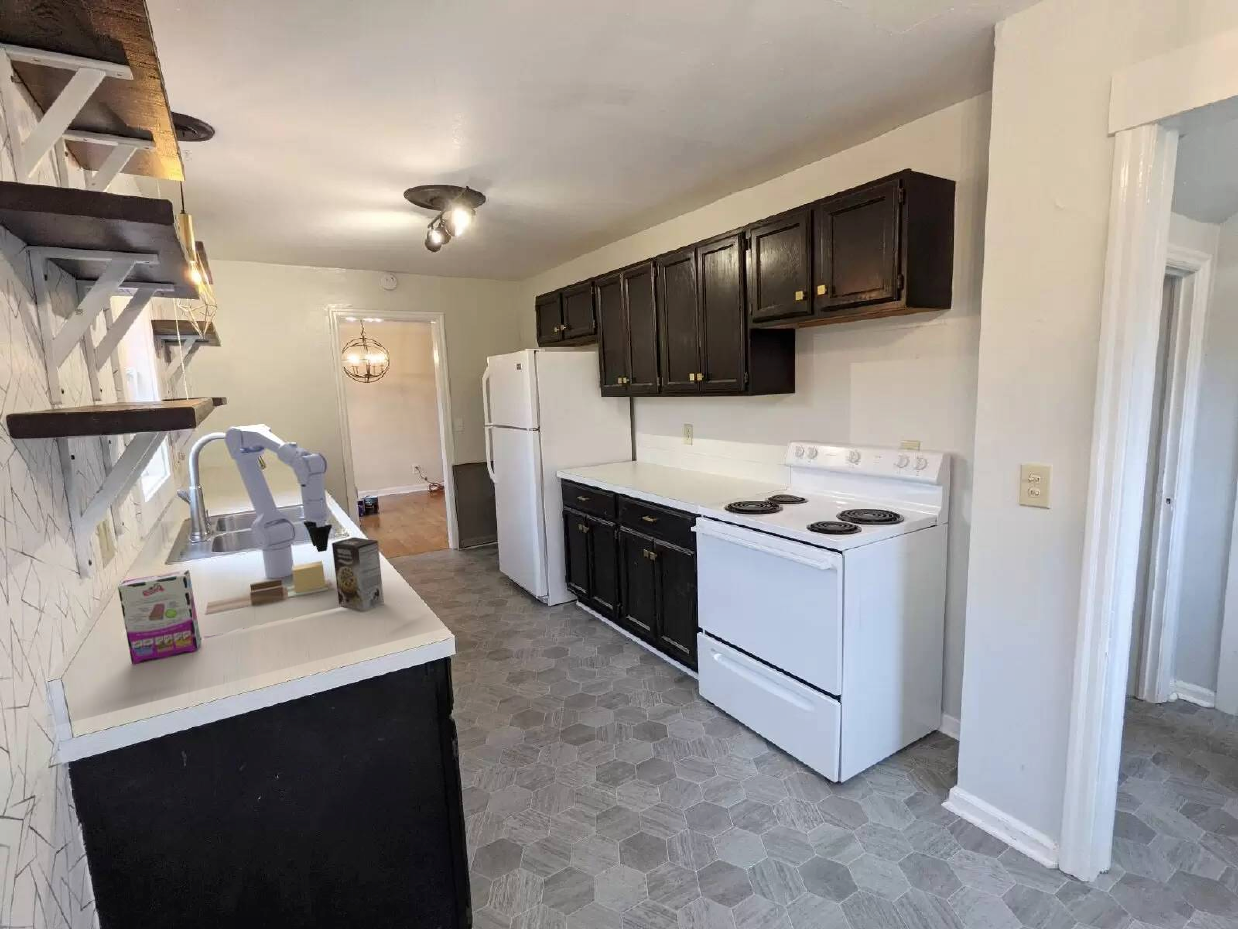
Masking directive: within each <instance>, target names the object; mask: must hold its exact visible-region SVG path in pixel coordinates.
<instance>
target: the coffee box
mask: <svg viewBox="0 0 1238 929" xmlns="http://www.w3.org/2000/svg"><path fill="white" fill-rule="evenodd" d="M331 547H332V555H333V556H332V557H333V565H334V573H335V574H334V575H335V582H336V588H337V589H336V591H337V599H338V604H339V605H341V608H343V609H348V610H353V611H356V612H357V611H358V612H362V613H365V612H367V611H370V610H372V609H374V608H376V607H375V606H377V607H378V605H379V606H381V605H383V604H382V603H384V604H385V602H384V591H383V580H382V569H381V559H380V558H381V556H380V547H379V540H376V539H367V538H362V537H354V536H353V537H350V538H347V539H346V538H345V539H341V540H337V541H334V542H332V543H331ZM380 604H381V605H380ZM373 607H374V608H373ZM371 608H372V609H371ZM369 609H370V610H369Z"/></svg>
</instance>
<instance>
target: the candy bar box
mask: <svg viewBox="0 0 1238 929" xmlns="http://www.w3.org/2000/svg"><path fill="white" fill-rule="evenodd" d="M192 586H193V585H192V579H191V573H190V570H189V569H186V570H183V571H181V570H180V571H175V572H168V573H162V574H156V575H150V576H145V577H138V578H132V579H125V580H123V582H122V583H121V584H120V585H118V587H117V590H118V594H119V601H120V605H121V611H122V616H123V623H124V627H125V631H126V632H125V634H126V639H127V644H128V649H129V655H130V661H131V664H132V665H136V664H140V663H145V662H146V663H147V662H150V661H157V660H161V659H164V658H165V659H166V658H170V657H175V656H179V655H185V654H189V653H193V652H198V650H199V648H200V646H201V644H202V638H201V633H200V627H199V622H198V615H197V610H196V604H195V597H194V592H193V587H192Z"/></svg>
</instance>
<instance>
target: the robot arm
mask: <svg viewBox="0 0 1238 929" xmlns="http://www.w3.org/2000/svg"><path fill="white" fill-rule="evenodd" d="M224 442H225V445H226V448H227V450H228V453H229V456H230V457H231V459H232V460H234V462H235V464H236V467H237V469H238V472H239V475H240V477H241V479H242V482H243V484H244V486H245V490H246V492H247V494H248V497H249V499H250V502H251V504H252V507H253V509H254V512H255V514H256V518H255V519H254V521H253V523H252V524H251V525H250V529H251V532H252V541H253V543H254V545H255V546H256V547H257V548H258V550H261V551H262V558H263V559H262V560H263V566H264V573H263V578H267V579H280V578H285V577H288V576H291V575H293V572H292V566H295V565H294V557H293V551H292V545H293V544H294V541H295V540H296V537H297V533H298V532H297V527H296V525H295V524H294V522H292V520H291V519H290V517H289V515H288V514H287V513H284V512H283V511H280V510H278V508H277V505H276V503H275V500H274V498H273V495H272V493H271V491H270V488H269V486H268V483H267V480H266V478H265V476H264V473H263V471H262V468H261V466H260V462H259V458H260V457H261V456H263V455H264V453H265V451H266V450H269V451H271V452H273V453H275V454H277V455H276V456H277V459H278V461H280V462H282V463H284V465H285V464H286V466H289V467H290V468H291V469H292V471H293V473H294V475H295V476H296V479H297V480H296V481H297V484H298V485H300V492H301V499H302V500H301V502H302V509H303V510H302V511H303V516H299V518H298V520H299V521H302V524H303V525H304V526H305V528H306V530H307V532H308V534H309V538H310V541H311V543H312V546H313V547H315V548H316V550H317V553H322V552H326V551H327V550H328V546H329V536H330V532H331V530H332V528H333V525H332V524H331V523H330V524H326V521H327V519H328V518H329V517H330V515H329V514H330V513H328V504H327V496H326V487H325V479H324V478H325V477H324V474H326V472H327V469H328V462H327V459H326V458H325V456H324V455H323V454H321V453H319V452H315V453H312V452H309V450H307V449H305V448H302V447H301V446H299V445H298V443H297V442H295V441H293V442H292V441H291V442H285V441H283V440H282V439H281V438H280V437H278V436H276V435H275V434H274V433H272V429H271V428H270V427H268V426H267V425H265V424H264V423H263V424H262V423H261V424H257V425H256V424H255V425H254V424H253V425H244V426H231V427H228V428H227V430H226V433H225V437H224Z"/></svg>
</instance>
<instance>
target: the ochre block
mask: <svg viewBox="0 0 1238 929" xmlns="http://www.w3.org/2000/svg"><path fill="white" fill-rule="evenodd" d="M292 572H293V574H292V578H293V586H294V587H295V592H296V593H298V592H303V591H308V590H313V589H318V588H323V587H325V580H326V579H325V570H324V564H323V562H322V561H321V560H319V561H314V562H310V563H309V562H308V563H304V564H297V565H294V566H292Z"/></svg>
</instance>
